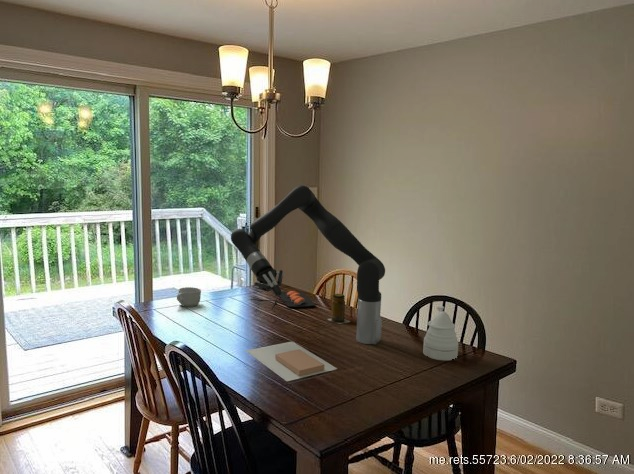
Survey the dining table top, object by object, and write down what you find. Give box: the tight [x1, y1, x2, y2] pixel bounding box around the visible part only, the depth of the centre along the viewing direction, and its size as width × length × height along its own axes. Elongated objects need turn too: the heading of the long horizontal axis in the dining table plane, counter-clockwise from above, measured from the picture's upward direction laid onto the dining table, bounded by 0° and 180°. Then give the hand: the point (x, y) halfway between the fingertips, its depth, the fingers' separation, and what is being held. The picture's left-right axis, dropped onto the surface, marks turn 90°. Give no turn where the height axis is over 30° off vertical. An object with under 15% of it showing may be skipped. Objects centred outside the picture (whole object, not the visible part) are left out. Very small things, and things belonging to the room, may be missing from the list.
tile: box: [275, 349, 324, 376], centre depth 165 cm, size 2×10×16 cm
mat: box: [245, 341, 338, 385], centre depth 170 cm, size 30×20×1 cm, turn 34°
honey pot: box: [422, 305, 460, 361], centre depth 182 cm, size 13×13×18 cm
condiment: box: [327, 293, 352, 325], centre depth 218 cm, size 7×8×12 cm
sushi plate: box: [251, 290, 316, 310], centre depth 248 cm, size 29×30×4 cm
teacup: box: [176, 286, 202, 308], centre depth 234 cm, size 14×11×8 cm
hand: (279, 294), depth 184 cm, fingers closed
